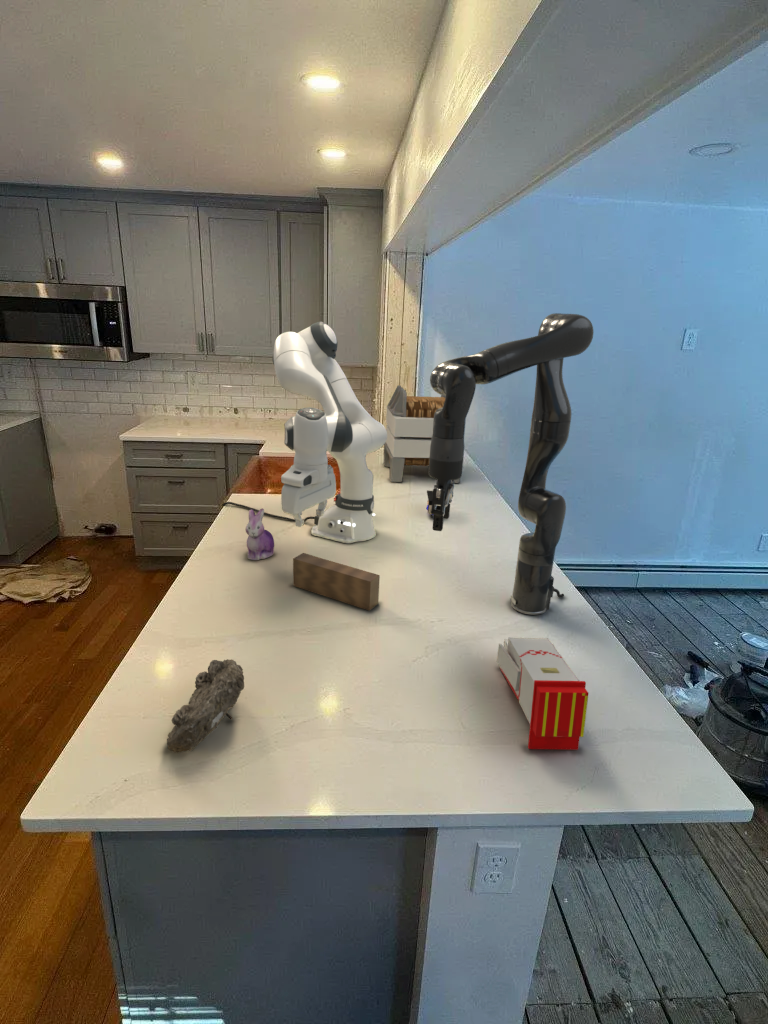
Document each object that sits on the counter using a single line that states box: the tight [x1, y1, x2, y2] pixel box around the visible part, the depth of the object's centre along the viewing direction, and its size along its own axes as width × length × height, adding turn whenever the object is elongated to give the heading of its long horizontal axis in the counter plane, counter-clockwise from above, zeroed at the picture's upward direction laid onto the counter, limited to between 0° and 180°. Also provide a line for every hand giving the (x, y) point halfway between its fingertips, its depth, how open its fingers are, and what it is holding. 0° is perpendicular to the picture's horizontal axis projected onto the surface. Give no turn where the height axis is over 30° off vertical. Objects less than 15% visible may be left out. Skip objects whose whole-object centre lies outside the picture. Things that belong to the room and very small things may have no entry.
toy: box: [496, 637, 589, 751], centre depth 115 cm, size 12×13×30 cm
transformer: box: [383, 384, 461, 484], centre depth 268 cm, size 34×33×41 cm
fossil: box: [166, 658, 245, 754], centre depth 106 cm, size 22×10×15 cm
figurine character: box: [426, 489, 440, 519], centre depth 220 cm, size 7×8×15 cm
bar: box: [292, 552, 381, 611], centre depth 155 cm, size 25×5×8 cm, turn 60°
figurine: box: [245, 508, 275, 561], centre depth 176 cm, size 9×10×15 cm
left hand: (310, 520), depth 153 cm, fingers open, 8 cm apart
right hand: (440, 524), depth 131 cm, fingers open, 8 cm apart
